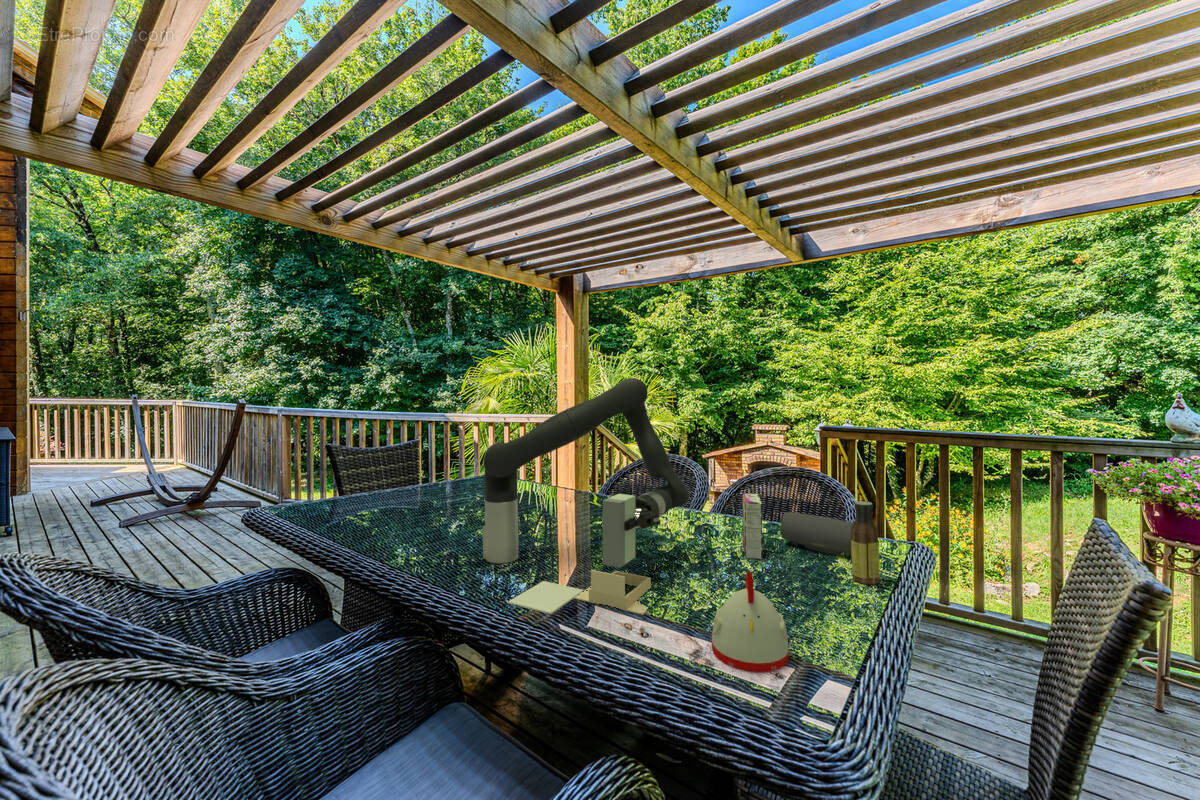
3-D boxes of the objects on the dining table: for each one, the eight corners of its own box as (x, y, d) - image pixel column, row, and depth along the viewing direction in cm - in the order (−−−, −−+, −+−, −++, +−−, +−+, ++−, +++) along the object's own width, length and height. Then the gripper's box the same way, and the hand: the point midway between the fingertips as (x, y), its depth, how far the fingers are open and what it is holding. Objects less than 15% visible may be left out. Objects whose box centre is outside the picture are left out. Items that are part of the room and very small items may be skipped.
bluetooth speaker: (869, 555, 152) (870, 520, 151) (859, 563, 145) (859, 527, 144) (792, 539, 167) (792, 507, 167) (779, 546, 160) (779, 513, 160)
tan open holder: (574, 598, 124) (573, 567, 123) (608, 574, 138) (608, 546, 138) (642, 614, 115) (642, 580, 115) (671, 587, 130) (671, 557, 129)
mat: (507, 603, 122) (507, 601, 122) (543, 582, 134) (543, 580, 134) (550, 614, 116) (550, 612, 116) (583, 591, 128) (583, 589, 128)
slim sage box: (602, 564, 122) (602, 500, 122) (618, 554, 129) (618, 493, 129) (619, 567, 120) (619, 502, 119) (635, 557, 127) (635, 495, 126)
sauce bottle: (877, 577, 134) (878, 500, 134) (881, 587, 129) (882, 506, 128) (849, 574, 137) (849, 499, 136) (852, 584, 131) (852, 504, 130)
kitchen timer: (711, 668, 94) (711, 585, 93) (711, 631, 107) (711, 558, 107) (794, 676, 91) (794, 591, 90) (783, 637, 105) (783, 563, 104)
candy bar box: (741, 546, 160) (741, 493, 160) (759, 547, 159) (759, 493, 159) (744, 559, 149) (744, 501, 149) (762, 560, 148) (763, 502, 148)
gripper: (622, 491, 141) (589, 505, 126) (672, 497, 134) (643, 513, 119) (622, 519, 141) (589, 536, 127) (672, 526, 134) (643, 545, 119)
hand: (616, 524), depth 123 cm, fingers closed on slim sage box, 4 cm apart
